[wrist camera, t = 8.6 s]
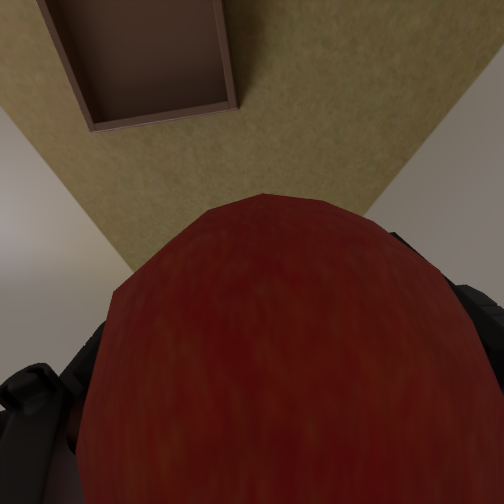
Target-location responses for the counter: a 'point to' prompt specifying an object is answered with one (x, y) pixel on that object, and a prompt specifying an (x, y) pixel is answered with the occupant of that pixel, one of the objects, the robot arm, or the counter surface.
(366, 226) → the apple
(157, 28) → the tray
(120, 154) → the counter surface
